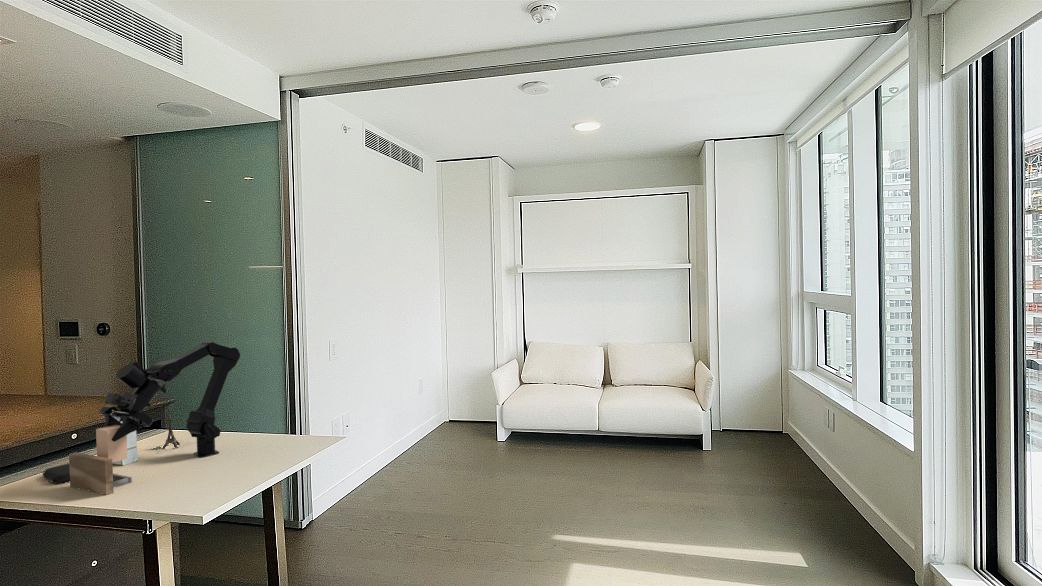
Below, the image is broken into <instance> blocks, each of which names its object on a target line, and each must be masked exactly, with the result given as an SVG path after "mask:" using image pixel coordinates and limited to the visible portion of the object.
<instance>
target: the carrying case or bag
mask: <svg viewBox="0 0 1042 586" xmlns="http://www.w3.org/2000/svg"><path fill="white" fill-rule="evenodd" d="M42 476H43V477H44V478H46V479H47V482H48V483H55V482H56V484H58V483H62V484H66V483H65V482H67V483H70V482H69V481H70V468H69V463H65V464H61V465H57V466H52V467H48V468H46V469H45V471H43V472H42Z"/></svg>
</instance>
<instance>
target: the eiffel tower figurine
mask: <svg viewBox="0 0 1042 586" xmlns="http://www.w3.org/2000/svg"><path fill="white" fill-rule="evenodd" d="M167 435H168V436H167V438H166V440H165V443H164V444H162V445H164V446H163V448H162V449H164V450H166V449H165V447H166V446H169V443H170V444H171V445H174V447H175V448H174V449H178V448H177V445H180V444H181V442H178V441H179V440H177V438H176V437H175V435H174V432H173V425H172V415H169V416H168V433H167ZM162 445H159V446H155V447H156V448H154V447H153V449H152V448H151V449H152V450H155V451H159V450H161V447H160V446H162ZM180 446H181V445H180ZM158 449H159V450H158Z"/></svg>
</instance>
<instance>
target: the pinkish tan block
mask: <svg viewBox="0 0 1042 586" xmlns="http://www.w3.org/2000/svg"><path fill="white" fill-rule="evenodd" d="M119 427H120V425H112V426H108V427H104V426H103V427H99V428H96V429H95V434H96V435H95V436H96V440H95V441H96V456H99V457H104V458H110V459H112V463H113V462H117V461H120V460H124V459H128V456H127V435H126V436H124V437H122V438H120V439H119V440H117V441H115V442H114V441H112V438H113V436H114V435H115V433H116V432H117V430H118V429H119Z"/></svg>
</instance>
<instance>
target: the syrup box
mask: <svg viewBox="0 0 1042 586" xmlns="http://www.w3.org/2000/svg"><path fill="white" fill-rule="evenodd" d="M121 423H122V421H121ZM127 456H128V459H124V460H120V461H117V462H113V463H112V465H115V466H126V465H129V464H133V463H135V462H138V460H139V457H138V443H137V430H135V431H133V432H131V433H129V434H127Z"/></svg>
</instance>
